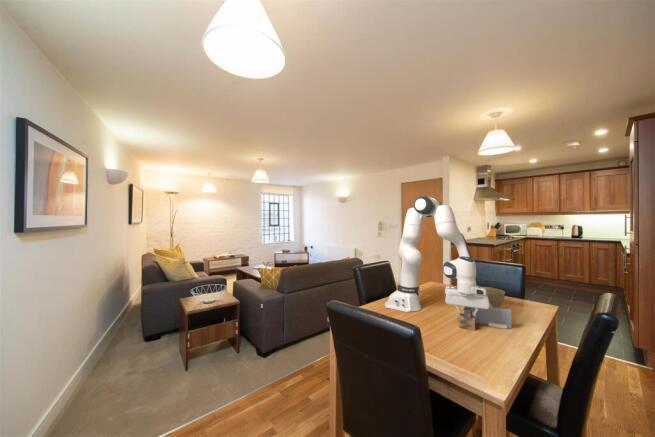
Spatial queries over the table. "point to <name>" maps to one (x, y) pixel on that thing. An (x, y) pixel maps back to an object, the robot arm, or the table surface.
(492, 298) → the planter bowl
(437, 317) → the table surface
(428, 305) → the table surface
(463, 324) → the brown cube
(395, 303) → the robot arm
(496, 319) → the wall board
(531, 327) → the table surface
